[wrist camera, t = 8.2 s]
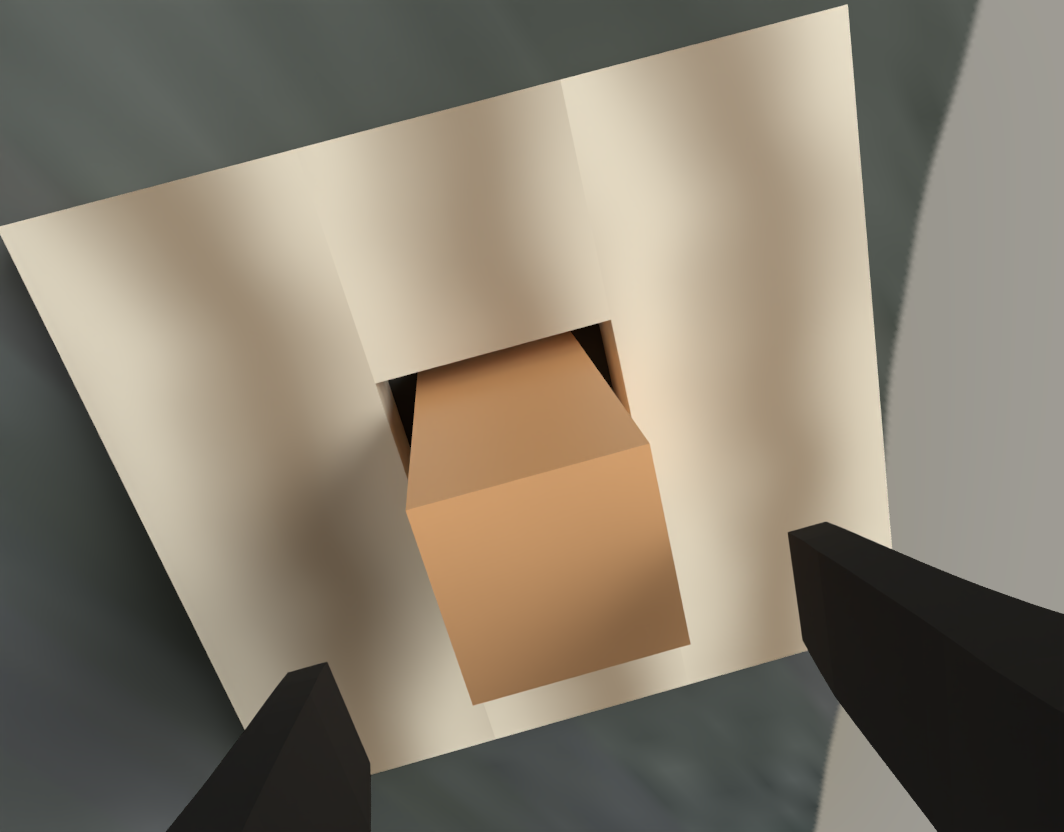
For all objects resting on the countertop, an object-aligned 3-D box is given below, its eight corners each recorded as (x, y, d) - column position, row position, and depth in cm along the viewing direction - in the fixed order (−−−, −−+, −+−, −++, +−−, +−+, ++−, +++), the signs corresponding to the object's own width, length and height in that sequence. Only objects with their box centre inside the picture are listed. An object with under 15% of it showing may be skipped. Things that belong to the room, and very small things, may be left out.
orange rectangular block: (460, 503, 21) (472, 705, 13) (418, 368, 19) (405, 510, 12) (600, 465, 21) (690, 644, 13) (568, 328, 19) (649, 443, 12)
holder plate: (292, 746, 23) (279, 800, 21) (44, 218, 17) (-3, 227, 15) (861, 585, 23) (898, 624, 21) (803, 18, 18) (848, 4, 16)
